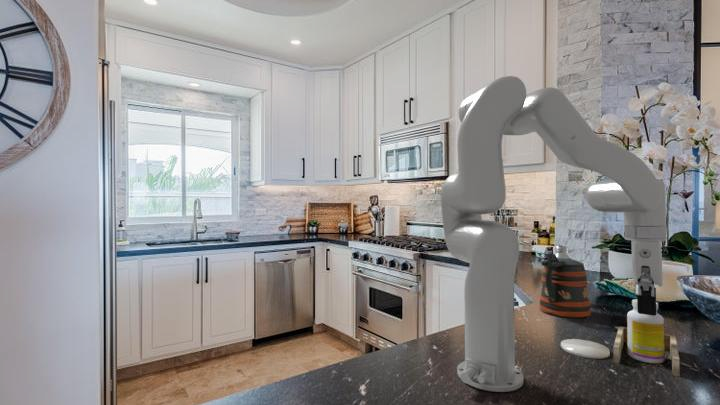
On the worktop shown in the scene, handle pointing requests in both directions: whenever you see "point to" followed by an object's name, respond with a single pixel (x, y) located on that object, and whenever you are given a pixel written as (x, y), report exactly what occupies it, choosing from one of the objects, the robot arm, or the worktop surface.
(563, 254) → the plastic bottle
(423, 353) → the worktop surface
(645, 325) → the supplement bottle
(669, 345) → the frame
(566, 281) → the beer stein
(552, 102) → the robot arm
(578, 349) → the disc
